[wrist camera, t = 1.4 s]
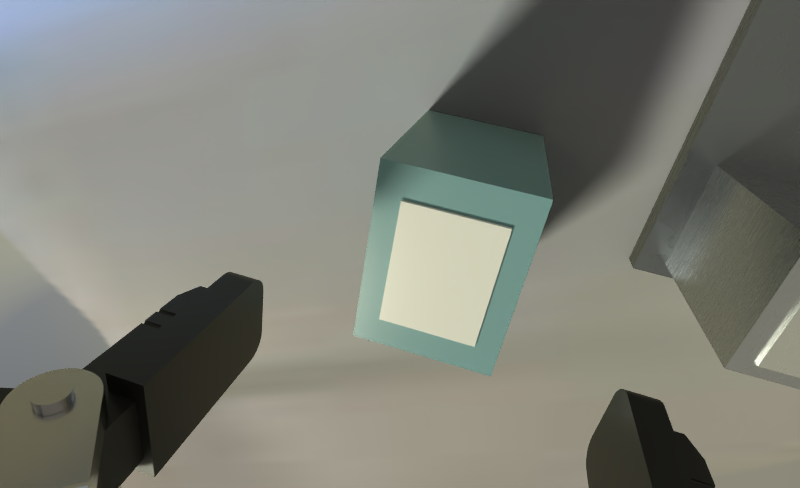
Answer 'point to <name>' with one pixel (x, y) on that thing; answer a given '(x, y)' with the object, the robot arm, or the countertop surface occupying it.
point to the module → (452, 238)
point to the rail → (736, 121)
